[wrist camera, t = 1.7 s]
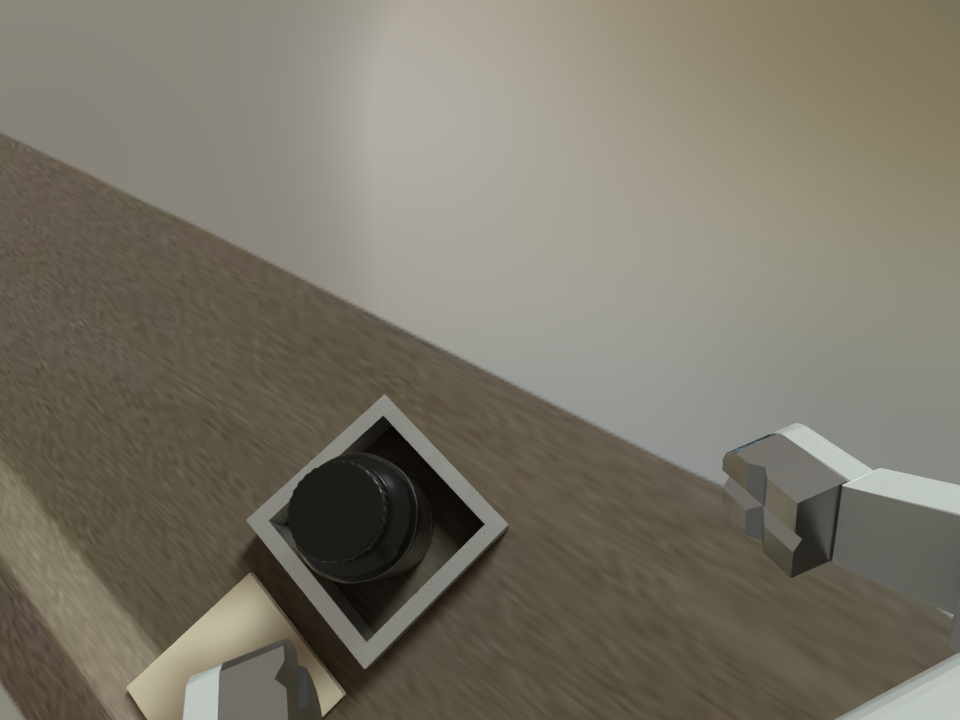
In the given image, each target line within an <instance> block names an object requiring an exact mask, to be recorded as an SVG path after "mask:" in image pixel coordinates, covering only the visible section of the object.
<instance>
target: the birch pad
mask: <svg viewBox="0 0 960 720" xmlns="http://www.w3.org/2000/svg"><path fill="white" fill-rule="evenodd" d="M288 638H289V639H290V641H291V643H292V644H293V646H294V647H295V649H296V650H297V659H298V665H299V666H302V667H306V668H307V670H308V672H309V674H310V675H311V677H312V680H313V682H314V685H315V688H316V690H317V694H318V698H319V702H320V706H321V712H322V718H323V717H324V716H325V715H326V714H327V713H328V712H329V711H330V710H331V709H332V708H333V707H334V706H335V705H336V704H337V703H338V701H339V700H340V699H341V698H342V697H343V696H344V695H345V694H346V692H345V691H344V689H343V688H342V687H341V685H340V684H339V683H338V681H337V680H336V679H335V678H334V676H333V675H332V674H331V672H330V671H329V670H328V669H327V667H326V666H325V665H324V663H323V662H322V661H321V659H320V658H319V657H318V656H317V654H316V653H315V652H314V650H313V649H312V648H311V647H310V645H309V644H308V643H307V641H306V640H305V639H304V637H303V636H302V635H301V634H300V632H299V631H298V630H297V628H296V627H295V626H294V625H293V623H292V622H291V621H290V619H289V618H288V617H287V616H286V614H285V613H284V612H283V610H282V609H281V608H280V606H279V605H278V604H277V603H276V601H275V600H274V599H273V597H272V596H271V595H270V594H269V592H268V591H267V590H266V588H265V587H264V586H263V584H262V583H261V582H260V581H259V579H258V578H257V577H256V575H255V574H254V573H249V574H248V575H247V576H246V577H245V578H244V579H242V580H241V581H240V582H239V583H238V584H237V585H236V586H235V587H234V588H233V589H232V590H231V591H230V592H228V593H227V594H226V595H225V596H224V597H223V598H222V599H221V600H220V601H219V602H218V603H217V604H216V605H214V606H213V607H212V608H211V609H210V610H209V611H208V612H207V613H206V614H205V615H204V616H203V617H202V618H200V619H199V620H198V621H197V622H196V623H195V624H194V625H193V626H192V627H191V628H190V629H189V630H188V631H187V632H185V633H184V634H183V635H182V636H181V637H180V638H179V639H178V640H177V641H176V642H175V643H174V644H173V645H171V646H170V647H169V648H168V649H167V650H166V651H165V652H164V653H163V654H162V655H161V656H160V657H159V658H157V659H156V660H155V661H154V662H153V663H152V664H151V665H150V666H149V667H148V668H147V669H146V670H145V671H143V672H142V673H141V674H140V675H139V676H138V677H137V678H136V679H135V680H134V681H133V682H132V683H131V684H130V685H128V686H127V687H126V688H127V689H128V691H129V693H130V694H131V696H132V697H133V699H134V700H135V702H136V703H137V705H138V706H139V708H140V709H141V711H142V712H143V714H144V715H145V717H146V718H147V720H182V714H183V704H184V694H185V687H186V685H187V683H188V680H189V678H190V676H193V675H195V674H198V673H200V672H203V671H205V670H208V669H210V668H213V667H215V666H218V665H220V664H223V663H224V662H227V661H229V660H232V659H234V658H237V657H239V656H242V655H245V654H247V653H250V652H252V651H255V650H257V649H260V648H262V647H265V646H268V645H270V644H273V643H275V642H278V641H280V640H283V639H288Z"/></svg>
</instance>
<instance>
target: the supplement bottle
mask: <svg viewBox="0 0 960 720" xmlns="http://www.w3.org/2000/svg"><path fill="white" fill-rule="evenodd" d="M289 504H290V505H289V507H288V509H287V511H288V517H287V520H288V523H289V530H290V532H291V533H292V538H293V539H294V542H295V545H296V547H297V549H298V552H299V553H300V555H301V557H302V558H303V559H304V561H305V562H306V563H307V564H308V566H309V567H310V568H312V569H313V570H314V571H315V572H317V573H318V574H319V575H321V576H323V577H325V578H327V579H329V580H332V581H336V582H341V583H350V584H354V583H364V582H372V581H379V580H386V579H390V578H394V577H397V576H400V575H402V574H404V573H406V572H407V571H409V570H410V569H412V568H413V567H414V566H415V565H416V564H417V563H418V562H419V561H420V560H421V559H422V558H423V556H424V555H425V553H426V552H427V550H428V548H429V546H430V543H431V541H432V537H433V533H434V514H433V509H432V506H431V503H430V501H429V499H428V497H427V495H426V493H425V492H424V491H423V489H422V488H421V487H420V486H419V485H418V484H417V483H416V482H415V481H414V480H412V479H411V478H410V477H409V476H408V475H407V474H405V473H404V472H403V471H402V470H401V469H399V468H398V467H397V466H396V465H394V464H393V463H391V462H390V461H388V460H386V459H384V458H382V457H379V456H376V455H373V454H367V453H350V454H345V455H341V456H338V457H335V458H333V459H331V460H329V461H327V462H325V463H324V464H322V465H321V466H319V467H318V468H314V469H313V470H312V471H311V472H310V473H308V474H306V475H305V476H304V478H303V479H302V480H301V481H299V482H298V485H297V487H296V488H295V489H294V490H293V495H292V497H291V498H290V500H289Z"/></svg>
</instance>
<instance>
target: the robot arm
mask: <svg viewBox="0 0 960 720" xmlns="http://www.w3.org/2000/svg"><path fill="white" fill-rule="evenodd" d="M723 471H724V472H726V473H727V474H728V475H729V478H728V480H727V481H726V483H725V485H724V487H723V502H724V505H725V507H726V510H727V512H728V515H729V516H730V518H731V519H732V521H733V522H734V523H735V525H736V526H737V527H738V528H739V529H740V530H741V531H742V532H743V533H744V534H745V535H747V536H750V537H753V538H756V539H759V540H762V546H763V552H764V553H765V554H766V555H767V556H768V557H769V558H770V559H771V560H772V561H773V562H774V563H775V564H776V565H777V566H778V567H779V568H780V569H781V570H782V571H784V572H785V573H786V574H787V575H788V576H789V577H790V578H793V577H795V576H798V575H800V574H802V573H805V572H807V571H809V570H811V569H814V568H816V567H818V566H821V565H823V564H825V563H827V562H830V561H832V563H833V564H835V565H837V566H840V567H842V568H844V569H847V570H849V571H852V572H854V573H856V574H859V575H861V576H863V577H866V578H868V579H871V580H873V581H875V582H878V583H880V584H883V585H885V586H887V587H890V588H892V589H894V590H897V591H899V592H902V593H904V594H906V595H909V596H911V597H913V598H916V599H918V600H921V601H923V602H925V603H928V604H930V605H932V606H935V607H937V608H940V609H942V610H944V611H947V612H949V613H951V614H954V617H953V620H952V623H951V627H950V630H949V633H948V646H950V647H951V648H952V649H953V650H954V651H955V652H957V654H955V655H953V656H951V657H949V658H947V659H946V660H944V661H942V662H940V663H938V664H936V665H934V666H933V667H931V668H929V669H927V670H925V671H923V672H921V673H920V674H918V675H916V676H914V677H912V678H910V679H908V680H907V681H905V682H903V683H901V684H899V685H897V686H895V687H893V688H892V689H890V690H888V691H886V692H884V693H882V694H880V695H879V696H877V697H875V698H873V699H871V700H869V701H867V702H866V703H864V704H862V705H860V706H858V707H856V708H854V709H853V710H851V711H849V712H847V713H845V714H843V715H841V716H840V717H838V718H836V719H834V720H960V485H955V484H951V483H946V482H942V481H937V480H933V479H928V478H924V477H919V476H915V475H910V474H906V473H901V472H896V471H892V470H887V469H883V468H879V469H877V470H874V471H873V470H872V469H870V468H869V467H867V466H866V465H864V464H863V463H861V462H859V461H858V460H856V459H855V458H853V457H852V456H850V455H849V454H847V453H846V452H844V451H843V450H841V449H840V448H838V447H837V446H835V445H834V444H832V443H831V442H829V441H828V440H826V439H825V438H823V437H822V436H820V435H819V434H817V433H816V432H814V431H813V430H811V429H809V428H808V427H806V426H805V425H802V424H797V423H795V424H793V425H790V426H788V427H786V428H784V429H781V430H779V431H776V432H774V433H772V434H769V435H766V436H764V437H762V438H759V439H757V440H755V441H752V442H750V443H748V444H746V445H743V446H741V447H739V448H737V449H734V450H732V451H729V452H727V453H726V455H725V456H724V458H723ZM182 720H322V712H321V706H320V702H319V698H318V694H317V690H316V688H315V685H314V682H313V680H312V677H311V675H310V674H309V672H308V670H307V668H306V667H302V666H299V665H298V659H297V650H296V649H295V647H294V646H293V644H292V643H291V641H290V639H289V638H288V639H283V640H280V641H278V642H275V643H273V644H270V645H268V646H265V647H262V648H260V649H257V650H255V651H252V652H250V653H247V654H245V655H242V656H239V657H237V658H234V659H232V660H229V661H227V662H224V663H223V664H220V665H218V666H215V667H213V668H210V669H208V670H205V671H203V672H200V673H198V674H195V675H193V676H190V678H189V680H188V683H187V685H186V687H185V694H184V704H183V714H182Z"/></svg>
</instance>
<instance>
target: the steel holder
mask: <svg viewBox="0 0 960 720" xmlns="http://www.w3.org/2000/svg"><path fill="white" fill-rule="evenodd" d="M391 426H393V427H394V428H395V429H396V430H397V431H398V432H399V433H400V434H401V435H402V436H403V438H404V439H405V440H406V441H407V442H408V443H409V444H410V445H411V446H412V447H413V448H414V449H415V450H416V451H417V453H418V454H419V455H420V456H421V457H422V458H423V459H424V460H425V461H426V462H427V463H428V464H429V465H430V466H431V468H432V469H433V470H434V471H435V472H436V473H437V474H438V475H439V476H440V477H441V478H442V479H443V480H444V481H445V483H446V484H447V485H448V486H449V487H450V488H451V489H452V490H453V491H454V492H455V493H456V494H457V495H458V496H459V497H460V499H461V500H462V501H463V502H464V503H465V504H466V505H467V506H468V507H469V508H470V509H471V510H472V511H473V512H474V514H475V515H476V516H477V517H478V518H479V519H480V520H481V521H482V522H483V523H484V524H485V525H484V526H483V527H482V528H481V529H480V530H479V531H478V532H477V533H476V534H475V535H474V536H473V537H472V538H471V539H470V540H469V541H468V542H467V543H466V544H465V545H464V546H463V547H462V548H461V549H460V550H459V551H458V552H457V553H456V554H455V555H454V556H453V557H452V558H451V559H450V560H449V561H448V562H447V563H446V564H445V565H444V566H443V567H442V568H441V569H440V570H439V571H438V572H437V573H436V574H435V575H434V576H433V577H432V578H431V579H430V580H429V581H428V582H427V583H426V584H425V585H424V586H423V587H422V588H421V589H420V590H419V591H418V592H417V593H416V594H415V595H414V596H413V597H412V598H411V599H410V600H409V601H408V602H407V603H406V604H405V605H404V606H403V607H402V608H401V609H400V610H399V611H398V612H397V613H396V614H395V615H394V616H393V617H392V618H391V619H390V620H389V621H388V622H387V623H386V624H385V625H384V626H383V627H382V628H381V629H380V630H379V631H378V632H377V633H376V634H375V633H374V631H373V630H372V629H371V628H370V627H369V625H368V624H367V623H366V622H365V620H364V619H363V618H362V617H361V615H360V614H359V613H358V612H357V611H356V609H355V608H354V607H353V606H352V604H351V603H350V602H349V601H348V600H347V598H346V597H345V596H344V595H343V593H342V592H341V591H340V590H339V588H338V587H337V586H336V585H335V584H334V582H333V581H332V580H329V579H327V578H325V577H323V576H321V575H319V574H318V573H317V572H315V571H314V570H313V569H312V568H310V567H309V566H308V564H307V563H306V562H305V561H304V559H303V558H302V557H301V555H300V553H299V552H298V549H297V547H296V545H295V542H294V539H293V538H292V533H291V532H290V530H289V527H288V526H287V525H286V523H287V522H288V520H287V517H288V511H287V509H288V507H289V505H290V504H289V500H290V498H291V497H292V495H293V490H294V489H295V488H296V487H297V485H298V482H299V481H301V480H302V479H303V478H304V476H305V475H306V474H308V473H310V472H311V471H312V470H313V469H314V468H318V467H319V466H321V465H322V464H324V463H325V462H327V461H329V460H331V459H333V458H335V457H338V456H341V455H345V454H350V453H363V452H364V451H365V450H366V449H367V448H369V447H370V446H371V445H372V444H373V443H374V442H375V441H376V440H377V439H378V438H379V437H380V436H381V435H383V434H384V433H385V432H386V431H387V430H388V429H389V428H390V427H391ZM246 521H247V522H248V523H249V524H250V526H251V527H252V528H253V529H254V531H255V532H256V533H257V534H258V536H259V537H260V538H261V540H262V541H263V542H264V543H265V545H266V546H267V547H268V548H269V550H270V551H271V552H272V553H273V555H274V556H275V557H276V558H277V560H278V561H279V562H280V563H281V565H282V566H283V567H284V569H285V570H286V571H287V572H288V574H289V575H290V576H291V577H292V579H293V580H294V581H295V582H296V584H297V585H298V586H299V587H300V589H301V590H302V591H303V592H304V594H305V595H306V596H307V598H308V599H309V600H310V601H311V603H312V604H313V605H314V606H315V608H316V609H317V610H318V611H319V613H320V614H321V615H322V616H323V618H324V619H325V620H326V621H327V623H328V624H329V625H330V627H331V628H332V629H333V630H334V632H335V633H336V634H337V635H338V637H339V638H340V639H341V640H342V642H343V643H344V644H345V645H346V647H347V648H348V649H349V650H350V652H351V653H352V654H353V656H354V657H355V658H356V659H357V661H358V662H359V663H360V664H361V666H362V667H363V668H364V669H366V668H368V667H369V666H371V665H373V664H374V663H376V662H377V661H378V660H379V659H380V658H381V657H382V656H383V655H384V654H385V653H386V652H387V651H388V650H389V649H390V648H391V647H392V646H393V645H394V644H395V643H396V642H397V641H398V640H399V639H400V638H401V637H402V636H403V635H404V634H405V633H406V631H407V630H408V629H409V628H410V627H411V626H412V625H413V624H414V623H415V622H416V621H417V620H418V619H419V618H420V617H421V616H422V615H423V614H424V613H425V612H426V611H427V610H428V609H429V608H430V607H431V606H432V605H433V604H434V603H435V602H436V601H437V600H438V599H439V598H440V597H441V596H442V595H443V594H444V593H445V592H446V591H447V590H448V589H449V588H450V587H451V586H452V585H453V584H454V583H455V582H456V581H457V580H458V579H459V578H460V577H461V576H462V575H463V574H464V573H465V572H466V571H467V570H468V569H469V568H470V567H471V566H472V565H473V564H474V563H475V562H476V561H477V560H478V559H479V558H480V557H481V556H482V555H483V554H484V553H485V552H486V551H487V550H488V549H489V548H490V547H491V546H492V544H493V543H494V542H495V541H496V540H497V539H498V538H499V537H500V536H501V535H502V534H503V533H504V532H505V531H506V530H507V529H508V528H509V525H508V524H507V523H506V522H505V521H504V520H503V518H502V517H501V516H500V515H499V514H498V513H497V512H496V511H495V510H494V509H493V508H492V507H491V506H490V505H489V504H488V503H487V502H486V501H485V499H484V498H483V497H482V496H481V495H480V494H479V493H478V492H477V491H476V490H475V489H474V488H473V487H472V486H471V485H470V484H469V483H468V482H467V480H466V479H465V478H464V477H463V476H462V475H461V474H460V473H459V472H458V471H457V470H456V469H455V468H454V467H453V466H452V465H451V464H450V463H449V461H448V460H447V459H446V458H445V457H444V456H443V455H442V454H441V453H440V452H439V451H438V450H437V449H436V448H435V447H434V446H433V445H432V444H431V443H430V441H429V440H428V439H427V438H426V437H425V436H424V435H423V434H422V433H421V432H420V431H419V430H418V429H417V428H416V427H415V426H414V425H413V424H412V422H411V421H410V420H409V419H408V418H407V417H406V416H405V415H404V414H403V413H402V412H401V411H400V410H399V409H398V408H397V407H396V406H395V405H394V403H393V402H392V401H391V400H390V399H389V398H388V397H387V396H386V395H385V394H384V395H383V396H382V397H381V398H380V399H379V400H378V401H377V402H376V403H375V404H373V405H372V406H371V407H370V408H369V409H368V410H367V411H366V412H365V413H364V414H362V415H361V416H360V417H359V418H358V419H357V420H356V421H355V422H354V423H353V424H351V425H350V426H349V427H348V428H347V429H346V430H345V431H344V432H343V433H342V434H340V435H339V436H338V437H337V438H336V439H335V440H334V441H333V442H332V443H331V444H329V445H328V446H327V447H326V448H325V449H324V450H323V451H322V452H321V453H320V454H318V455H317V456H316V457H315V458H314V459H313V460H312V461H311V462H310V463H309V464H307V465H306V466H305V467H304V468H303V469H302V470H301V471H300V472H299V473H298V474H296V475H295V476H294V477H293V478H292V479H291V480H290V481H289V482H288V483H287V484H285V485H284V486H283V487H282V488H281V489H280V490H279V491H278V492H277V493H276V494H274V495H273V496H272V497H271V498H270V499H269V500H268V501H267V502H266V503H265V504H263V505H262V506H261V507H260V508H259V509H258V510H257V511H256V512H255V513H253V514H252V515H251V516H250V517H249V518H248V519H247V520H246Z"/></svg>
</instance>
